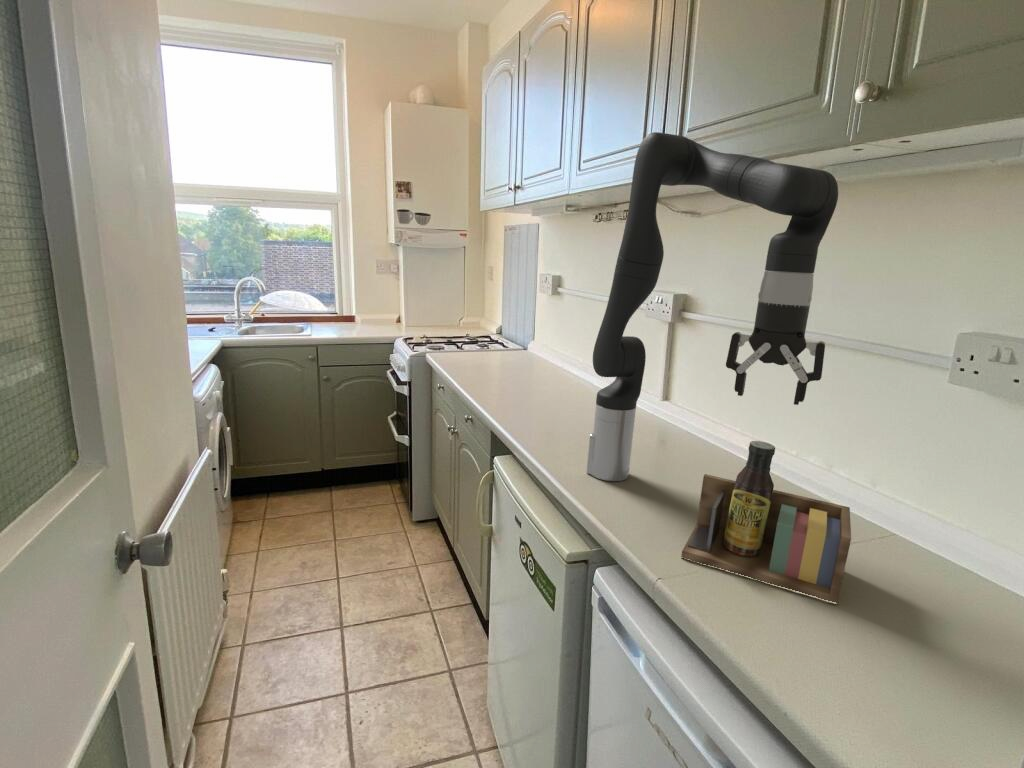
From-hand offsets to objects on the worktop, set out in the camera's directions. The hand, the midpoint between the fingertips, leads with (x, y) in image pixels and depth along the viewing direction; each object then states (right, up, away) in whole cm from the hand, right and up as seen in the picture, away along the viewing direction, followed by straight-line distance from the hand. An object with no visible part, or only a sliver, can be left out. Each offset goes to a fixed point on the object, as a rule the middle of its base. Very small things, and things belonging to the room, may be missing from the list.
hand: (767, 399), depth 93 cm
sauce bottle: (-2, -27, +7) cm, 28 cm away
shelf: (+1, -29, +5) cm, 29 cm away
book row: (+7, -28, +2) cm, 29 cm away
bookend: (-7, -26, +10) cm, 28 cm away
